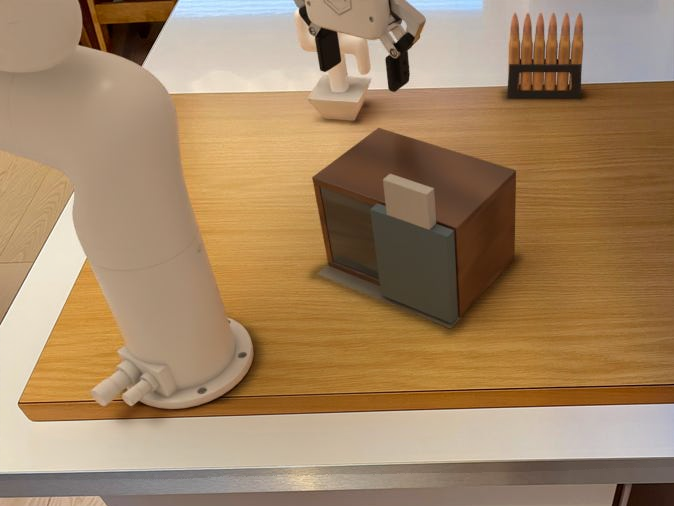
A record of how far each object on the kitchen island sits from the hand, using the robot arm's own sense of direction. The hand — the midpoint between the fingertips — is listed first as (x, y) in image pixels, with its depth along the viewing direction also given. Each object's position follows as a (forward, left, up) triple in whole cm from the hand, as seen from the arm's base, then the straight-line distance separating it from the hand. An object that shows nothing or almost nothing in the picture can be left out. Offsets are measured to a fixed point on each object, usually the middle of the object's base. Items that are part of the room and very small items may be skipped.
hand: (364, 76), depth 93 cm
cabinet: (-10, -14, -15) cm, 22 cm away
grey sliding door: (-17, -18, -14) cm, 28 cm away
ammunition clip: (+31, -7, -15) cm, 35 cm away
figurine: (+13, +15, -15) cm, 25 cm away
